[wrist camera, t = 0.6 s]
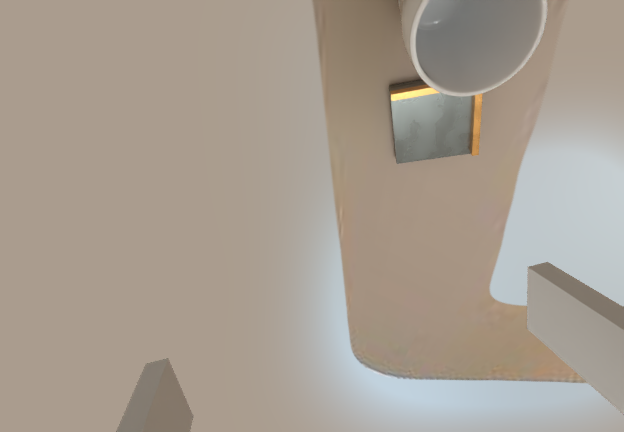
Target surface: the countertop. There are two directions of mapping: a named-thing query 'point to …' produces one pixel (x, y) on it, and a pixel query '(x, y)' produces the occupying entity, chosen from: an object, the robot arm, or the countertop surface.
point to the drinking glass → (470, 41)
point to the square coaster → (433, 122)
